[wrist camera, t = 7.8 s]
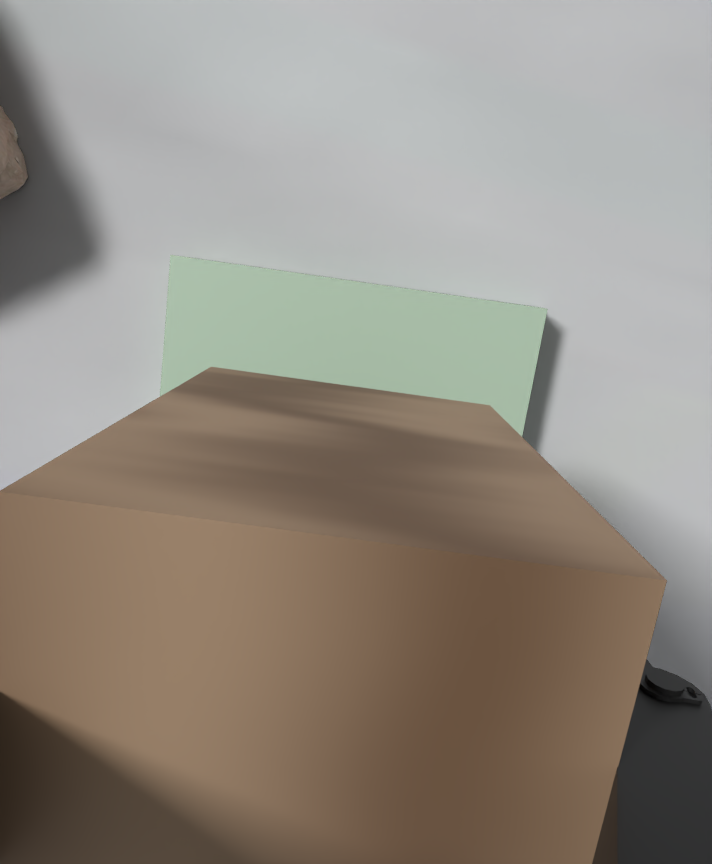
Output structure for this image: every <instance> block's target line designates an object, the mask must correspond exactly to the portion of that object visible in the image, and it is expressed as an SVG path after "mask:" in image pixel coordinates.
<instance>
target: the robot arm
mask: <svg viewBox="0 0 712 864" xmlns="http://www.w3.org/2000/svg"><path fill="white" fill-rule="evenodd" d="M592 864H712V711H711V706H710V704H709V702H708V700H707V698H706V697H705V695H704V694H703V693H702V692H701V691H700V690H699V689H697V688H696V687H695V686H694V685H693V684H691V683H689V682H688V681H686V680H684V679H682V678H681V677H679V676H677V675H675V674H672V673H669V672H667V671H664V670H662V669H658V668H653V667H652V666H651V664H650V663H649V662H648V660H647V659H646V662H645V666H644V670H643V674H642V678H641V681H640V685H639V689H638V693H637V697H636V701H635V704H634V708H633V712H632V716H631V720H630V723H629V727H628V731H627V735H626V739H625V743H624V746H623V750H622V754H621V758H620V762H619V765H618V767H617V770H616V774H615V778H614V781H613V785H612V789H611V793H610V797H609V801H608V804H607V808H606V812H605V816H604V820H603V824H602V827H601V831H600V835H599V839H598V843H597V846H596V850H595V854H594V858H593V862H592Z"/></svg>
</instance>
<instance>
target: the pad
mask: <svg viewBox="0 0 712 864" xmlns="http://www.w3.org/2000/svg"><path fill="white" fill-rule="evenodd" d="M546 314H547V309H545V308H539V307H532V306H525V305H518V304H511V303H504V302H497V301H490V300H483V299H476V298H469V297H462V296H455V295H448V294H441V293H434V292H427V291H420V290H413V289H406V288H399V287H392V286H385V285H378V284H371V283H364V282H357V281H350V280H343V279H336V278H329V277H322V276H315V275H308V274H301V273H294V272H287V271H280V270H273V269H266V268H259V267H252V266H245V265H238V264H231V263H224V262H217V261H210V260H203V259H196V258H189V257H182V256H174V255H170V269H169V282H168V295H167V309H166V322H165V335H164V348H163V362H162V375H161V388H160V396H162V395H164V394H165V393H167V392H169V391H170V390H172V389H174V388H176V387H177V386H179V385H181V384H182V383H184V382H186V381H187V380H189V379H191V378H193V377H194V376H196V375H198V374H199V373H201V372H203V371H204V370H206V369H208V368H210V367H218V368H225V369H232V370H239V371H247V372H254V373H261V374H268V375H275V376H283V377H290V378H297V379H304V380H312V381H319V382H326V383H333V384H340V385H348V386H355V387H362V388H369V389H376V390H384V391H391V392H398V393H405V394H413V395H420V396H427V397H434V398H441V399H449V400H456V401H463V402H470V403H478V404H485V405H490V406H491V407H492V408H493V409H494V410H495V411H496V412H497V413H498V414H499V415H500V416H501V417H502V418H503V419H504V420H505V421H506V422H507V423H508V424H509V425H510V426H511V427H512V428H513V429H514V430H515V431H516V432H517V433H519V434H520V435H521V436H522V435H523V430H524V425H525V420H526V415H527V410H528V405H529V400H530V395H531V390H532V385H533V380H534V375H535V370H536V365H537V360H538V355H539V350H540V345H541V340H542V334H543V329H544V324H545V319H546Z"/></svg>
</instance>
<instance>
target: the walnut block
mask: <svg viewBox="0 0 712 864" xmlns="http://www.w3.org/2000/svg"><path fill="white" fill-rule="evenodd" d="M666 582H667V580H666V579H665V578H664V577H663V576H662V575H661V574H660V573H659V572H658V571H657V570H656V569H655V568H654V567H653V566H652V565H651V564H650V563H649V562H648V561H647V560H646V559H645V558H644V557H642V556H641V555H640V554H639V553H638V552H637V551H636V550H635V549H634V548H633V547H632V546H631V545H630V544H629V543H628V542H627V541H626V540H625V539H624V538H623V537H622V536H621V535H620V534H619V533H618V532H617V531H616V530H615V529H614V528H613V527H612V526H611V525H610V524H609V523H608V522H607V521H606V520H605V519H604V518H603V517H602V516H601V515H600V514H599V513H598V512H597V511H596V510H595V509H594V508H593V507H592V506H591V505H590V504H589V503H588V502H587V501H586V500H585V499H584V498H583V497H582V496H581V495H580V494H579V493H578V492H577V491H576V490H575V489H574V488H573V487H572V486H571V485H570V484H569V483H568V482H567V481H566V480H565V479H564V478H563V477H562V476H561V475H560V474H559V473H558V472H557V471H556V470H555V469H554V468H553V467H552V466H551V465H550V464H549V463H548V462H547V461H546V460H545V459H544V458H543V457H542V456H541V455H540V454H539V453H538V452H537V451H536V450H535V449H534V448H533V447H532V446H531V445H530V444H529V443H528V442H527V441H526V440H525V439H524V438H523V437H522V436H521V435H520V434H519V433H517V432H516V431H515V430H514V429H513V428H512V427H511V426H510V425H509V424H508V423H507V422H506V421H505V420H504V419H503V418H502V417H501V416H500V415H499V414H498V413H497V412H496V411H495V410H494V409H493V408H492V407H491V406H490V405H485V404H478V403H470V402H463V401H456V400H449V399H441V398H434V397H427V396H420V395H413V394H405V393H398V392H391V391H384V390H376V389H369V388H362V387H355V386H348V385H340V384H333V383H326V382H319V381H312V380H304V379H297V378H290V377H283V376H275V375H268V374H261V373H254V372H247V371H239V370H232V369H225V368H218V367H210V368H208V369H206V370H204V371H203V372H201V373H199V374H198V375H196V376H194V377H193V378H191V379H189V380H187V381H186V382H184V383H182V384H181V385H179V386H177V387H176V388H174V389H172V390H170V391H169V392H167V393H165V394H164V395H162V396H160V397H159V398H157V399H155V400H153V401H152V402H150V403H148V404H147V405H145V406H143V407H142V408H140V409H138V410H137V411H135V412H133V413H131V414H130V415H128V416H126V417H125V418H123V419H121V420H120V421H118V422H116V423H114V424H113V425H111V426H109V427H108V428H106V429H104V430H103V431H101V432H99V433H97V434H96V435H94V436H92V437H91V438H89V439H87V440H86V441H84V442H82V443H80V444H79V445H77V446H75V447H74V448H72V449H70V450H69V451H67V452H65V453H63V454H62V455H60V456H58V457H57V458H55V459H53V460H52V461H50V462H48V463H47V464H45V465H43V466H41V467H40V468H38V469H36V470H35V471H33V472H31V473H30V474H28V475H26V476H24V477H23V478H21V479H19V480H18V481H16V482H14V483H13V484H11V485H9V486H7V487H6V488H4V489H2V490H1V491H0V864H592V862H593V858H594V854H595V850H596V846H597V843H598V839H599V835H600V831H601V827H602V824H603V820H604V816H605V812H606V808H607V804H608V801H609V797H610V793H611V789H612V785H613V781H614V778H615V774H616V770H617V767H618V765H619V762H620V758H621V754H622V750H623V746H624V743H625V739H626V735H627V731H628V727H629V723H630V720H631V716H632V712H633V708H634V704H635V701H636V697H637V693H638V689H639V685H640V681H641V678H642V674H643V670H644V666H645V662H646V659H647V655H648V651H649V647H650V643H651V639H652V636H653V632H654V628H655V624H656V620H657V616H658V613H659V609H660V605H661V601H662V597H663V594H664V590H665V586H666Z"/></svg>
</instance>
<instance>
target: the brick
mask: <svg viewBox="0 0 712 864" xmlns="http://www.w3.org/2000/svg"><path fill="white" fill-rule="evenodd" d="M17 138H18V135H17V132H16V129H15V127H14V125H13V122H12V121H10V120H9V118H8V116H7V115H6V114H5V113H4V110H3V108H2V107H1V106H0V199H2V198H4V197H5V196H7V195H9V194H11V193H12V192H14V191H16V190H18V189H19V188H20V187H21V186H22V185H24V183H25V181H26V180H27V178H28V175H27V170H26V165H25V160H24V155H23V153H22V152H21V150H20V148H19V146H18V144H17Z"/></svg>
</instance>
